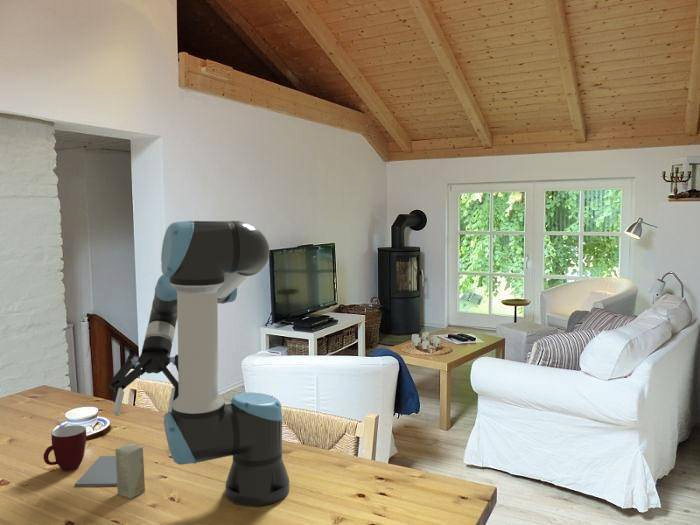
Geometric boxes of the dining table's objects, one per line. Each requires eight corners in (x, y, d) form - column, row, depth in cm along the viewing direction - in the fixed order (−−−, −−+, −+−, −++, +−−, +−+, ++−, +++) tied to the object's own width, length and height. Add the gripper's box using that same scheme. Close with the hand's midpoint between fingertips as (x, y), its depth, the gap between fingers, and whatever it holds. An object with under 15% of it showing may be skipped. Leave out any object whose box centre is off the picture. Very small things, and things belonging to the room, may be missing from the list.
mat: (141, 457, 158) (141, 455, 157) (121, 485, 142) (120, 483, 142) (100, 458, 157) (100, 455, 157) (75, 486, 141) (74, 484, 141)
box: (145, 492, 139) (144, 447, 138) (130, 499, 135) (128, 453, 134) (131, 486, 142) (130, 442, 140) (116, 493, 138) (114, 448, 137)
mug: (57, 482, 143) (55, 442, 142) (36, 474, 147) (35, 436, 146) (94, 465, 153) (92, 428, 152) (73, 459, 156) (72, 423, 155)
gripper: (206, 348, 165) (195, 419, 151) (116, 348, 163) (97, 420, 150) (201, 334, 159) (190, 407, 145) (108, 334, 158) (88, 407, 144)
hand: (142, 413), depth 148 cm, fingers open, 13 cm apart
